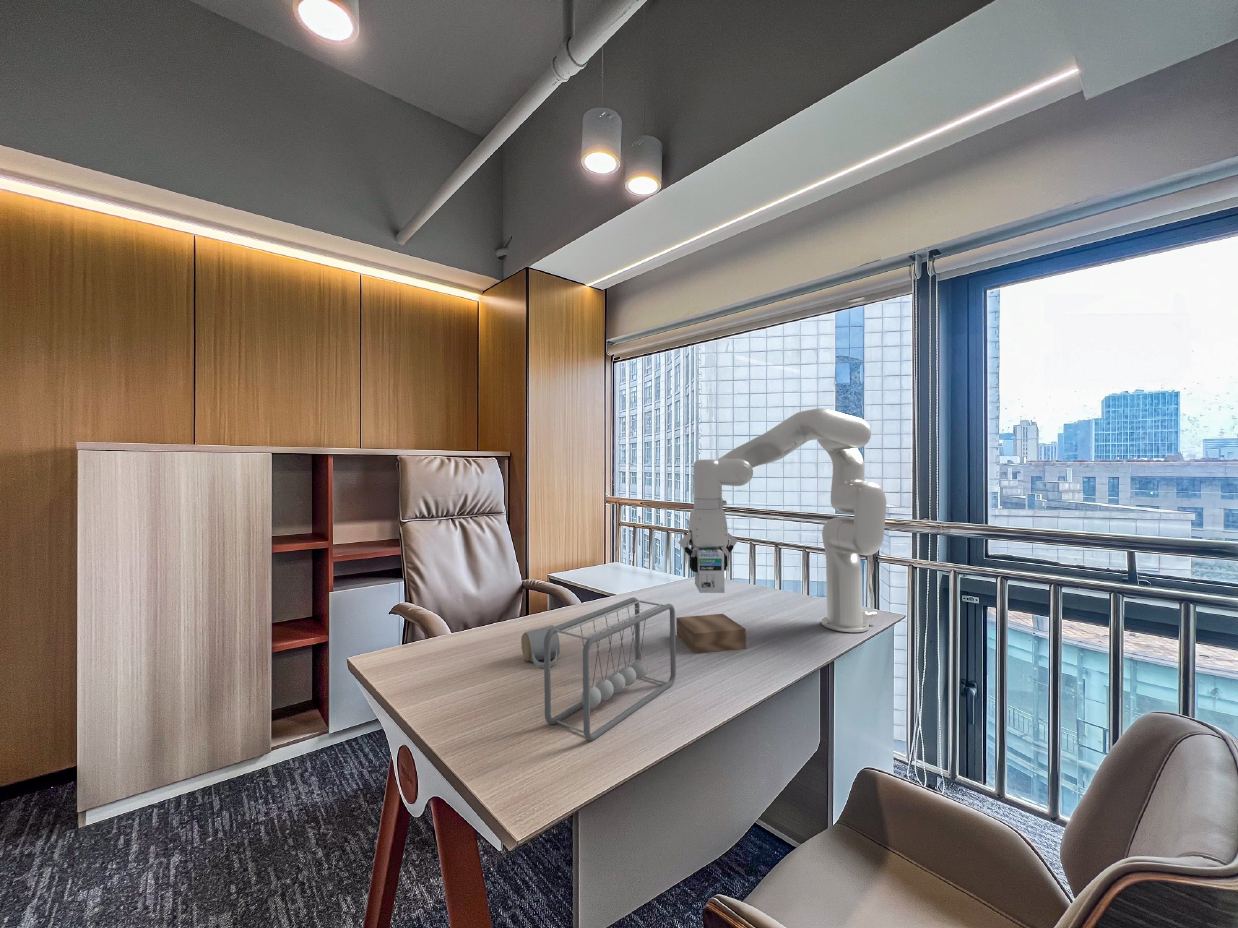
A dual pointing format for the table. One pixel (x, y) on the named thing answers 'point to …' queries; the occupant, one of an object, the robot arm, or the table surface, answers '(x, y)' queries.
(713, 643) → the walnut block
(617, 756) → the table surface
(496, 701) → the table surface
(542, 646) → the ceramic mug
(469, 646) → the table surface
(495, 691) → the table surface
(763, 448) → the robot arm
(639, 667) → the newton's cradle
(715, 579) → the light bulb box
